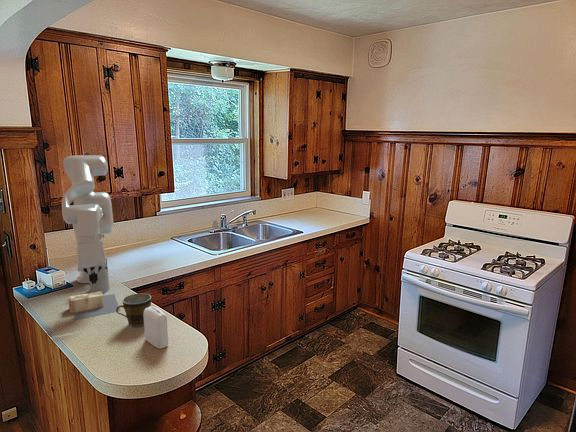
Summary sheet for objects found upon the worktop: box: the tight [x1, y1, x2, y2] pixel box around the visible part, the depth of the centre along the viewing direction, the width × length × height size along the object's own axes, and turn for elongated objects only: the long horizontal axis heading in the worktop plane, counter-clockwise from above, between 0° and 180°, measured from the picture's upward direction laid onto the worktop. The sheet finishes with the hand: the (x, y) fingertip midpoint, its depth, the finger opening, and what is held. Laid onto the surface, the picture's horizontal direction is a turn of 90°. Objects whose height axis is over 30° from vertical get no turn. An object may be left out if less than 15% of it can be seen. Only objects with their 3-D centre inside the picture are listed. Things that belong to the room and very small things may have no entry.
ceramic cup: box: [115, 292, 152, 329], centre depth 141 cm, size 13×10×10 cm
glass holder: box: [89, 258, 111, 294], centre depth 174 cm, size 9×14×15 cm, turn 33°
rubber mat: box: [73, 293, 121, 321], centre depth 157 cm, size 20×16×1 cm
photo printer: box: [143, 306, 169, 350], centre depth 129 cm, size 10×4×12 cm, turn 47°
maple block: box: [67, 291, 104, 314], centre depth 154 cm, size 5×5×12 cm
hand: (93, 282), depth 155 cm, fingers closed
